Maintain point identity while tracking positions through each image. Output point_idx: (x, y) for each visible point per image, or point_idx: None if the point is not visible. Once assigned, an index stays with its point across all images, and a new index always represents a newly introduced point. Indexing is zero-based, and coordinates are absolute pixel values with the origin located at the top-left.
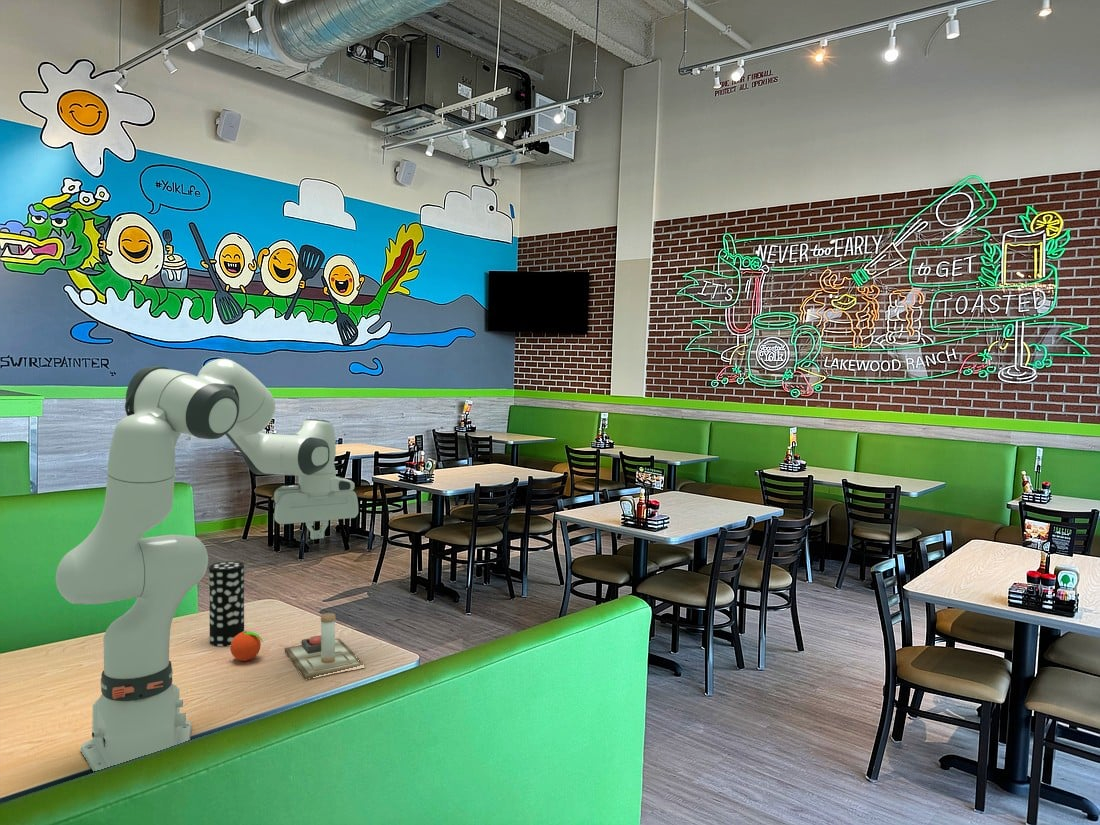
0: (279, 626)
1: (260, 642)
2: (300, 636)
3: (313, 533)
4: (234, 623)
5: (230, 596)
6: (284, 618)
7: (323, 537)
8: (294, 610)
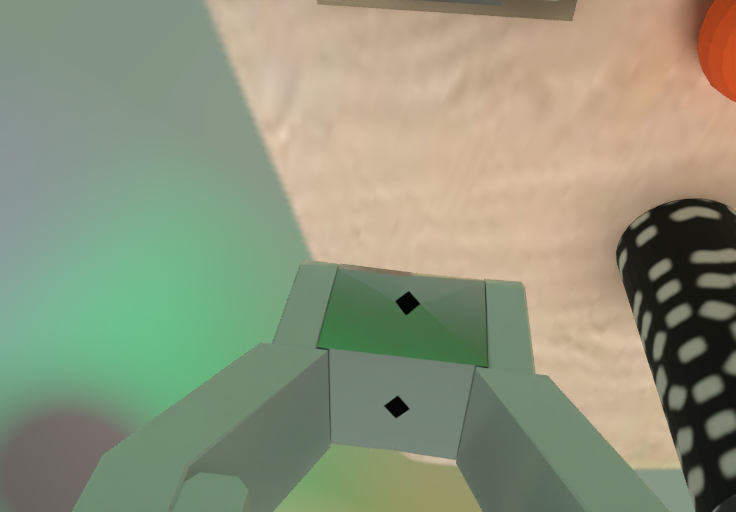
0: None
1: (712, 23)
2: (438, 152)
3: (505, 352)
4: (711, 251)
5: None
6: None
7: (307, 263)
8: None
